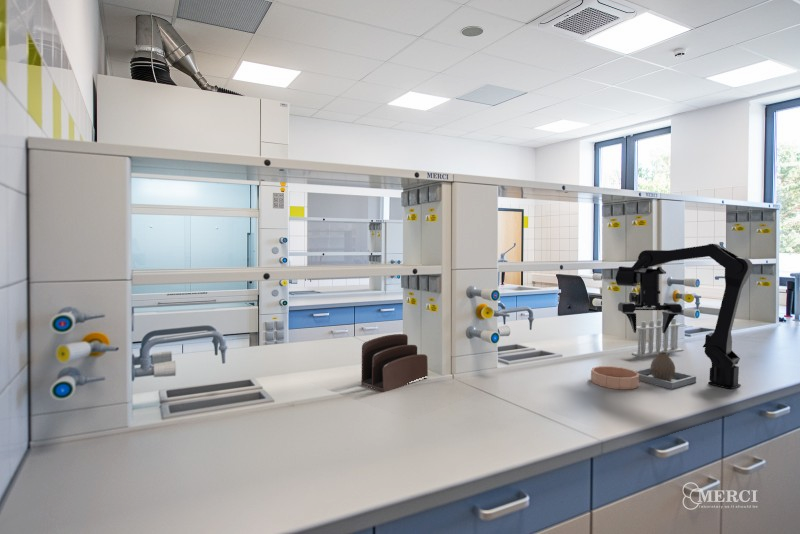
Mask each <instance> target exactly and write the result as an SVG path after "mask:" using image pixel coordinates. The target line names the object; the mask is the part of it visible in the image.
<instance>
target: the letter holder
mask: <svg viewBox="0 0 800 534" xmlns="http://www.w3.org/2000/svg"><path fill="white" fill-rule="evenodd" d="M408 340H409V339H408V335H407V334H406V333H405V334H404V333H396V334H387V335H382V336H378V337H375V338H373V339H369V340H367V341H364V342H363V343H362V344H361V380H360V383H361V384H360V385H361V386H363V385H365V386H364V387H366V386H368V387H367V388H369V387H372V388H375V389H377V390H376V391H379V392H382V393H385V392H388V391H391V390H395V389H398V388H401V387H405V386H407V385H406V384H407V383H409V382H411V381H414V380H416V379H419V378H422V377H425V376H428V377H429V373H428V371H429V369H428V368H429V367H428V366H429V365H428V355H427V354H424V353H423V354H421V353H420V354H419V353H418V346H417V345H416V344H409V343H408V342H409V341H408ZM404 385H405V386H404ZM372 388H371V389H372ZM375 389H374V390H375Z"/></svg>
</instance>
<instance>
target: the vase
mask: <svg viewBox="0 0 800 534" xmlns="http://www.w3.org/2000/svg"><path fill="white" fill-rule="evenodd" d="M650 367H651V377H654V378H657V379H661V380H665V381H669V382H671V380H673V379H674V375H675V372H676V365H675V363H674V361H673V360H672V358H671V357H670V356H669V353H666V352H659V354H658V355H655V357H654V358H653V359H652V360H651V364H650Z"/></svg>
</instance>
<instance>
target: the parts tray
mask: <svg viewBox="0 0 800 534" xmlns="http://www.w3.org/2000/svg"><path fill="white" fill-rule="evenodd" d="M634 371H635V372H637V373H639V382H640V381H641V382H645V383H648V384H652V385H656V386H660V387H664V388H667V389H671V390H674V389H677V388H681V387H684V386H688V385H691V384H694V383H697V376H696V375H691V374H688V373H687V374H686V373H682V372H679V371H678V372H677V371H675V375H674V377H673V379H674V378H675V379H677V380H673V381H665V380H661V379H657V378H654V377H653V376H648V375H650V374H651V366H650V367H646V368H642V369H637V370H634ZM651 375H652V374H651Z"/></svg>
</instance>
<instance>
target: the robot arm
mask: <svg viewBox="0 0 800 534" xmlns="http://www.w3.org/2000/svg"><path fill="white" fill-rule="evenodd" d="M707 257H710V258H711V259H712V260H714V261H715V262H716V264H718V265H720V266H721V267H723V268H724V282H725V283H724V284H725V287H724V292H723V295H722V296H723V297H722V300H721V304H720V308H719V313H718V316H717V320H716V323H715V324H716V325H715V329H714V330H713V332H709V333H707V334H705V339H704V340H705V342H704V344H703V345H702V348H704V354H705V356H706V357H707V358H708V359H709V360H710V362H711V367H709V376H708V377H709V378H708V379H709V381H708V384H709V385H714V386H718V387H721V388H726V389H729V390H731V389H735V388H737V387H741V383H739V373H740V372H739V369H740V366H737V365H738V363H739V362H740V360H741V357H740V356H739V355H738V354H736V353H735V352H734V351H733V349H732V348H733V337H732V329H733V326H734V322H735V318H736V315H737V310H738V305H739V301H740V298H741V293H742V289H743V288H744V285H745V284H746V283H747V281H748V279H749V278H750V275H751V273H752V271H753V268H754V264H753V262H752V261H751V260H750V259H749V258H747V257H744V256H743V257H742V256H741V257H739V256H737V255H736V254H735V253H733V252H731V251H729V250H727V249H725V248H724V247H722V246H721V245H720V244H718V243H708V244H704V245H699V246H691V247H684V248H683V247H682V248H678V249H677V248H676V249H669V250H668V249H667V250H666V249H663V250H661V249H650V250H649V249H646V250H641V251H640V253H639V254H638V256H637V261H635V263H634V264H633V265H632V266H618V270H617V272H616V276H615V282H616V283H615V284H617V286H622V287H623V286H624V287H625V286H626V287H636V286H637V285H639V290H638V294H637V293H636V292H630V293H629V295H628V299H629V302H621V301H620V302H619V303H618V305H617V311H619V312H621V313H622V314H624V315H626V316H627V319H628V320H629V324H630V326H631V329H632V332H633V333H635V334H636V333H637V329H636V326H637V313H635V311H661V314H662V324H663V325H662V328H661V334H664V333H665V332H666V330H667V328H668V326H669V324H670V323H671V321H672V319H673V318H675V316H678V315H679V314H681V313H683V306H682V305H681V304H680V303H676V302H663V304H661V302H660V294H661V290H660V275H665V274H667V271H666V270H665V269H663V268H662V265H665V264H668V263H671V262H675V261H683V260H691V259H699V258H707ZM654 267H656V268H654ZM641 270H645V271H641Z"/></svg>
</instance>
